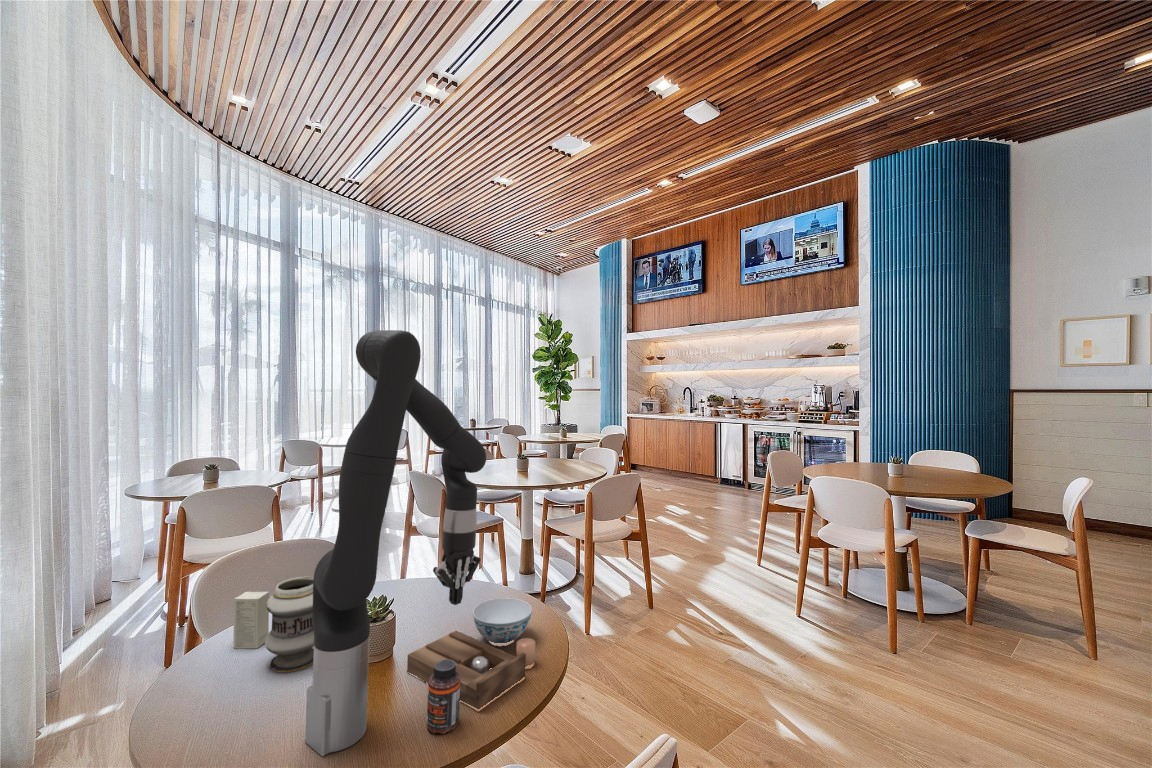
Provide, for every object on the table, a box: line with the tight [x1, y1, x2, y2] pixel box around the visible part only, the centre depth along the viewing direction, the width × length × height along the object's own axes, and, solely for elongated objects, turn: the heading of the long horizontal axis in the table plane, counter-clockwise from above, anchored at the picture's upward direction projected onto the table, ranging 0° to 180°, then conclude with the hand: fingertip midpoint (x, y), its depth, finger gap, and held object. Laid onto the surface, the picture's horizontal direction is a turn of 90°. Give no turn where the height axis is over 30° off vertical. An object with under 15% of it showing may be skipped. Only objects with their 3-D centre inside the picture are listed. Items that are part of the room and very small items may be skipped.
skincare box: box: [233, 591, 270, 650], centre depth 118 cm, size 6×4×12 cm
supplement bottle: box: [426, 659, 460, 734], centre depth 90 cm, size 6×6×11 cm
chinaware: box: [472, 597, 533, 643], centre depth 122 cm, size 15×15×8 cm
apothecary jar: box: [264, 576, 314, 673], centre depth 111 cm, size 12×12×18 cm
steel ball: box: [470, 656, 490, 674], centre depth 106 cm, size 4×4×4 cm
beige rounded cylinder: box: [515, 637, 536, 666], centre depth 111 cm, size 4×4×5 cm
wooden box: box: [406, 630, 526, 709], centre depth 106 cm, size 14×23×6 cm, turn 55°
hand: (455, 603), depth 110 cm, fingers closed
